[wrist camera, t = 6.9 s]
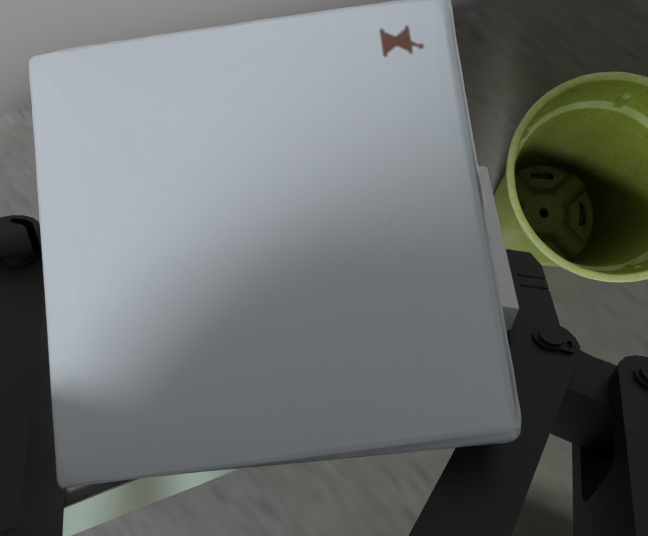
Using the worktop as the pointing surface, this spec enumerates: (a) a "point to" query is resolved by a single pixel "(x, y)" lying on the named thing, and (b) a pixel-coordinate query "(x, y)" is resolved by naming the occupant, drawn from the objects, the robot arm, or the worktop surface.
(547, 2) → the worktop surface
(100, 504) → the metal double frame
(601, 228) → the plant pot
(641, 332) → the worktop surface
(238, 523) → the worktop surface
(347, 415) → the supplement box
